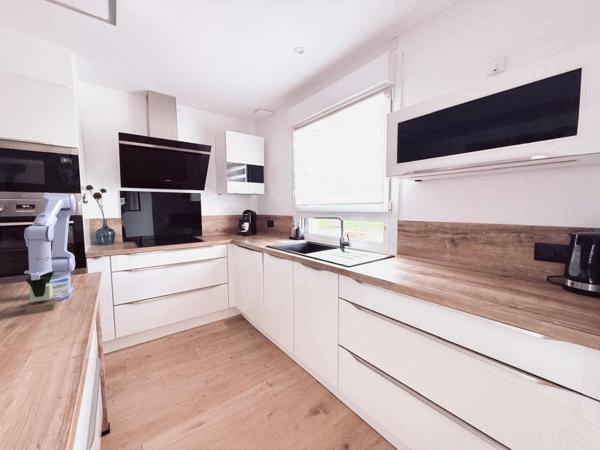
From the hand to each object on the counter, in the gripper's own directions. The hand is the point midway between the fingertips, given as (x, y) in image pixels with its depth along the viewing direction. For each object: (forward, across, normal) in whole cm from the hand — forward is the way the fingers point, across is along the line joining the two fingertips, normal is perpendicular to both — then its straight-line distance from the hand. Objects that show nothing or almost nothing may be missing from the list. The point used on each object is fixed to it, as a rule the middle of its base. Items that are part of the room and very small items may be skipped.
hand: (41, 294), depth 90 cm
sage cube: (+2, 0, 0) cm, 2 cm away
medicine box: (+6, -8, +2) cm, 11 cm away
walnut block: (+6, 0, 0) cm, 6 cm away
